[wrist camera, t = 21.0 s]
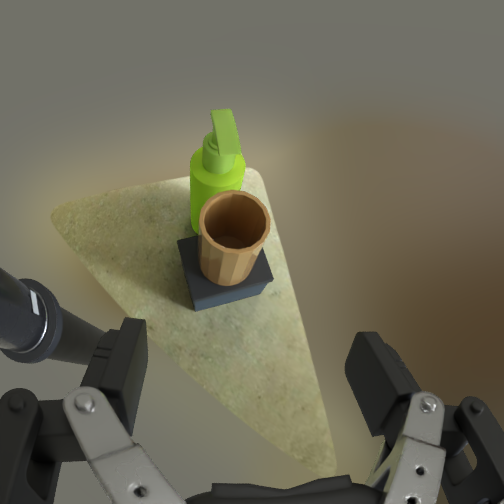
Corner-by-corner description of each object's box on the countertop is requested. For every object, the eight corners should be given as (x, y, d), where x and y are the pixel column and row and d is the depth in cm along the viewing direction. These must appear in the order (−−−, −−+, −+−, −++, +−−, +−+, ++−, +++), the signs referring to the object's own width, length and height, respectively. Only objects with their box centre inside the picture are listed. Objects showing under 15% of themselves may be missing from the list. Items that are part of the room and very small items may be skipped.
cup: (207, 292, 34) (210, 261, 25) (192, 242, 36) (192, 197, 27) (259, 278, 36) (280, 243, 27) (243, 230, 38) (257, 184, 29)
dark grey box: (194, 313, 40) (193, 301, 34) (179, 261, 42) (176, 240, 36) (262, 295, 42) (274, 279, 36) (245, 245, 45) (253, 222, 38)
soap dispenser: (195, 249, 43) (195, 154, 25) (188, 205, 46) (187, 99, 27) (237, 243, 44) (265, 148, 26) (228, 200, 47) (248, 96, 29)
